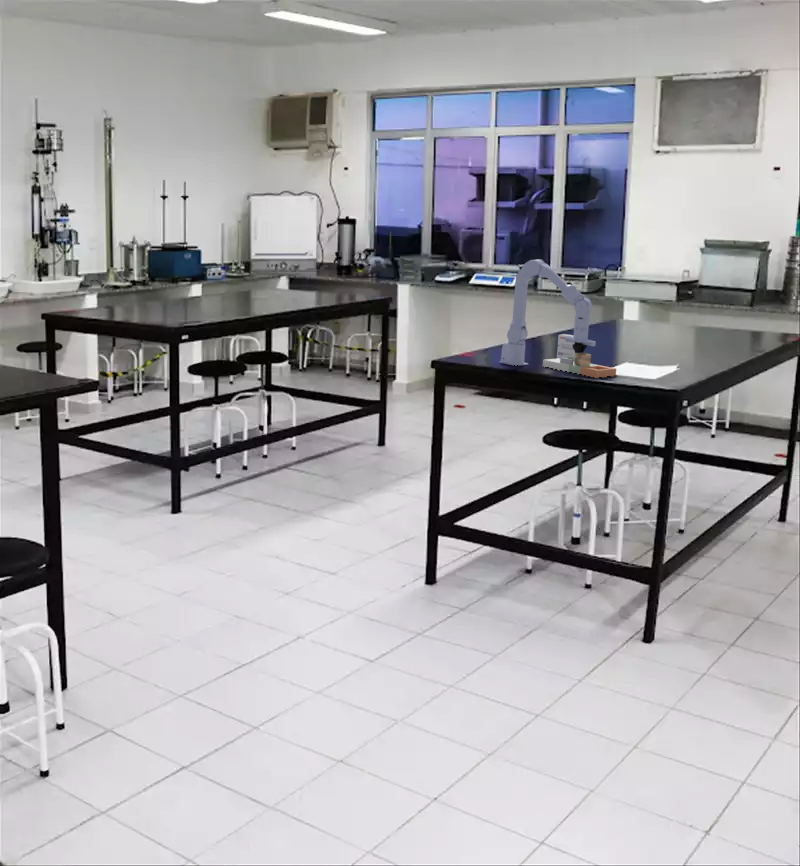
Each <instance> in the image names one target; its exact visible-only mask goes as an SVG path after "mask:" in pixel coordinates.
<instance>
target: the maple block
mask: <svg viewBox="0 0 800 866" xmlns="http://www.w3.org/2000/svg"><path fill="white" fill-rule="evenodd" d="M591 358H592V354H590V353H586V352H583V353H575V360H574V364H576V365H579V366H590V363H591V361H592V360H591Z"/></svg>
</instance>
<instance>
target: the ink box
mask: <svg viewBox="0 0 800 866" xmlns="http://www.w3.org/2000/svg"><path fill="white" fill-rule="evenodd" d="M573 336H574V334H565V333H562V334H558V338H557V349H556V350H557V351H556V359H557V358H568V359H573V358H574V356H575V351H574V348H573V346H572V345H573V344H575V343H572V342H565V337H573ZM575 342H576V341H575Z"/></svg>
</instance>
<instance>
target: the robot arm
mask: <svg viewBox="0 0 800 866" xmlns="http://www.w3.org/2000/svg"><path fill="white" fill-rule="evenodd" d="M537 276H538V277H540V278H541V277H542V278H547V279H548V280H549V281H550V282H551V283H552V284H553V285H555V287H557V288H558V289H559V290H560V291H561V296H562V297H563V298H564V299H565V300H566V301H567V302H568V303H569V304H571V306H572V307H573V306H574V311H575V316H574V325H573V327H574V328H573V335H574V336H573V337H565V342H572V343H575V344H573V345H572V346H573V348H574V351H575V353H585V350H586V348H587V347H588V346H590V347H596V344H597V342H596V341H595V340H592V339H588V337H589V328H590V327H589V326H590V311H591V309H592V307H593V305H592V301H591V300H590V298H588V297H586V295H585V294H582V293H581V292H580V291H579V290H578V289H577V288H578V287H577V286H576V285H573V284H567V283H566V282H565V281H564V280H563V278H561V276H559V275H558V273H556V271H555V270H554V269H553V268H552V267H551V266H550V265H549V264H547V263H545V261H544V260H543V259H539V258H538V259H537V258H536V259H530V260H528V261H526V262H525V263H524V264H523V266H522V267H521V268H520V270H519V271H518V273H517V275H516V276H515V283H514V284H515V285H514V295H513V296H514V297H513V298H514V300H513V311H512V319H511V322H510V325H509V330H508V331H507V334H506V337H507V340H508V341H505V342H504V343H503V344H502V347H501V355H500V360H499V363H501V364H504V365H505V364H506V365H511V366H514V365H515V366H516V367H518V366H526V365H528V366H529V363H528V362H525V353H526V342H527V341H526V339H527V337H528V336H529V335H528V334H529V333H528V330H527V322H526V312H527V310H526V309H527V301H528V300H527V299H528V298H527V297H528V286H529V282H530V281H531V280H533V279H534V278H535V277H537ZM575 341H576V342H575ZM517 365H518V366H517Z"/></svg>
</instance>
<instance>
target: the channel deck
mask: <svg viewBox="0 0 800 866" xmlns="http://www.w3.org/2000/svg"><path fill="white" fill-rule="evenodd" d="M574 360H575V356H574V358H573V359H568V358H557V357H556V358H550V359H549V358H547V359H546V358H545V359H543V360H542V367H543V366H544V367H543V368H545V367H549V368H548V369H550V368H553V369H552V370H555V369H557V370H556V371H560V370H562V371H561V372H565V371H567V372H566V373H569V372H572V373H571V374H574V373H577V374H576V375H579V374H582V375H581V376H584V375H586V376H585V377H588V376H590V378H593V377H594V379H600V378H599V377H602V378H608V377H607V376H611V377H615V376H614V375H616V376H617V368H615V367H610V366H606V365H600V364H594V363H591V362H590V366H579V365H576V364H574Z"/></svg>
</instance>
